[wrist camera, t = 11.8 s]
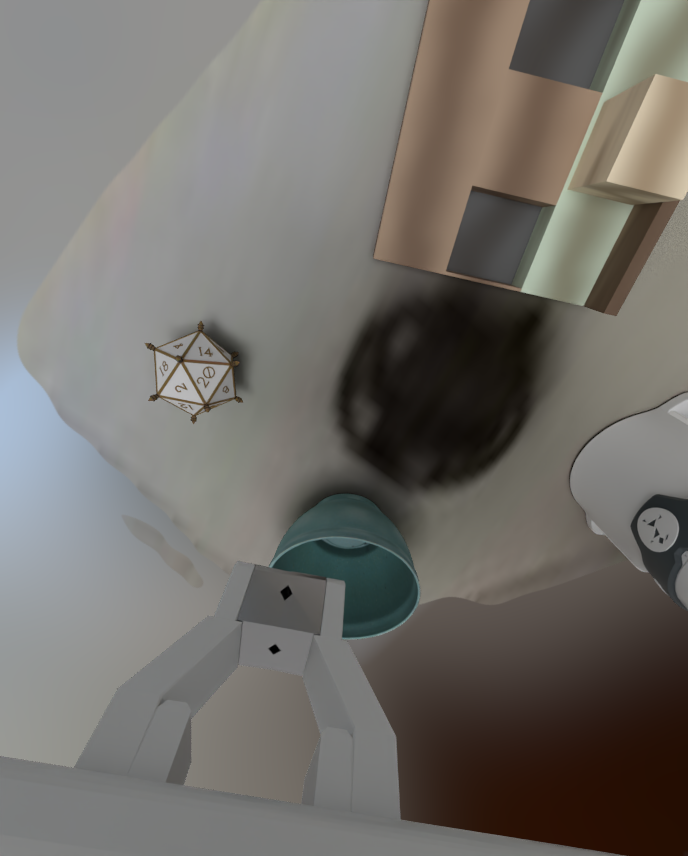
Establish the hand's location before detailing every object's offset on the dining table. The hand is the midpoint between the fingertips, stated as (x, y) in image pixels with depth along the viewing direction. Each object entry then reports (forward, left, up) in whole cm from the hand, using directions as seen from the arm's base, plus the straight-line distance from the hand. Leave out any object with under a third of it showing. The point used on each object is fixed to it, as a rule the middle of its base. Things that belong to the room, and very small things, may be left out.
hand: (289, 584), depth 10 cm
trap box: (-11, -16, -29) cm, 35 cm away
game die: (+13, +6, -29) cm, 33 cm away
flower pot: (-5, +24, -29) cm, 38 cm away
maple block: (-16, -17, -26) cm, 35 cm away
